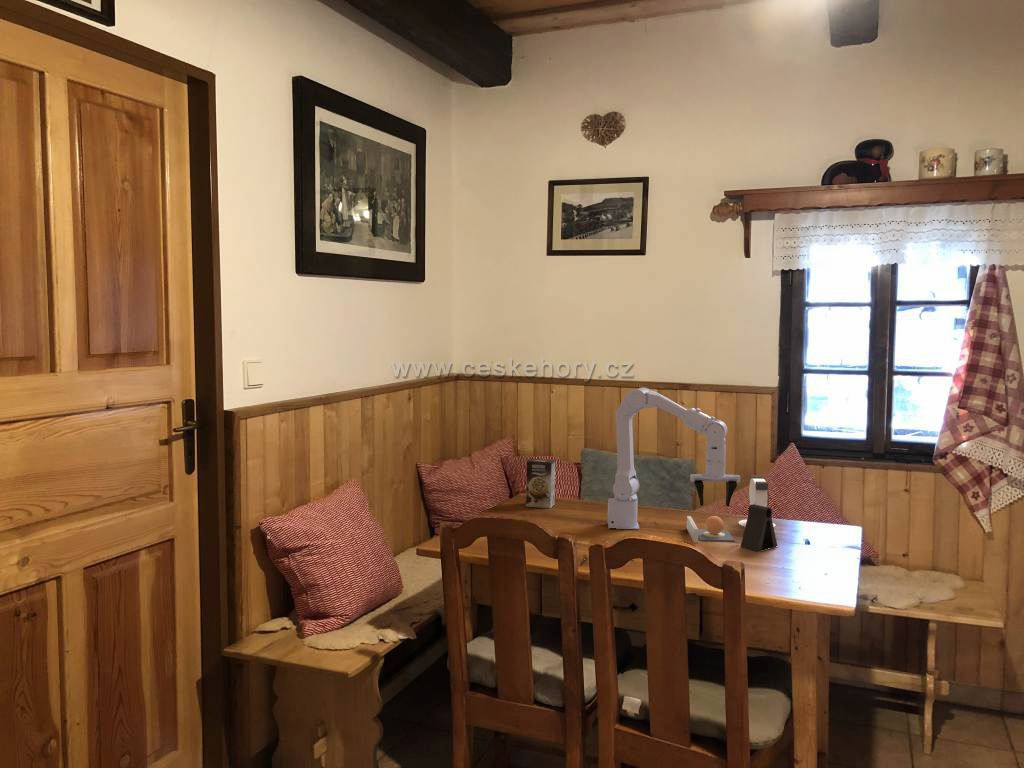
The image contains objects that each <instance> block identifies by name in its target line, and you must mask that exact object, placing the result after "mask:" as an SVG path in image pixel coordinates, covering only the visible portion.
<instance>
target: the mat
mask: <svg viewBox="0 0 1024 768" xmlns="http://www.w3.org/2000/svg"><path fill="white" fill-rule="evenodd" d="M698 541H700V542H729V543H730V542H731V543H733V542H735V539H734V538H733V536H732V534H731V533H730V531H729V530H728V529H723V530H722V531H721V532H720V533H719V534H711V533H709V532H708V531H707V530H706V528H698Z"/></svg>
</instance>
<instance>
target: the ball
mask: <svg viewBox="0 0 1024 768" xmlns="http://www.w3.org/2000/svg"><path fill="white" fill-rule="evenodd" d="M724 525H725V524H724V521H723V519H721V517H719V516H717V515H711V516H709V517H708V518H707V519H706V520H705V523H704V529H706V530H707V531H708V532H709V533H711V534H719V533H720V532H721V531H722V530H724V528H725V527H724Z"/></svg>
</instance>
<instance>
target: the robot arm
mask: <svg viewBox="0 0 1024 768" xmlns="http://www.w3.org/2000/svg"><path fill="white" fill-rule="evenodd" d="M645 408H647V409H651V408H659V409H661V410H662V411H665V412H667V413H669V414H671V415H673V416H675V417H678V418H680V419H681V420H682V422H683V425H685V426H686V427H688V428H690V429H692V430H693V431H696V432H697V433H700V434H702V435H704V436H705V438H706V446H705V450H706V451H705V473H691V474H690V475H689V476H690V477H689V479H690V480H689V481H690V482H692V483H693V484H694V486H695V488H696V489H695V490H696V492H697V495H698V500H699V505H700V507H701V506H702V507H703V506H704V489H705V488H704V487H705V485H704V482H714V483H717V482H719V483H721V482H722V483H725V492H726V493H725V506H726V507H730V503H731V499H732V497H733V495H734V492H735V490H736V489H737V486H738V484H739V483H741V475H739V474H728V473H727V474H726V459H727V458H726V457H727V456H726V455H727V453H726V452H727V451H726V450H727V446H726V443H727V442H726V435H727V434H728V426H727V424H726V423H725V422H724V421H722V419H716V417H715V416H713V415H712V416H710V415H708V414H706V413H703V412H702V411H701V408H699V407H697V408H694V407H691V408H685V407H683V405H680V404H678V403H676V402H675V401H673V400H672V399H670V398H668V397H666V396H665V395H662V394H660V393H659V392H658V391H655V390H651V389H649V388H648V387H644V386H641V387H639V388H636V389H632V390H629V391H628V392H627V393H626V394H625V395H623V398H622V400H621V402H620V404H619V405H618V407H617V409H616V412H615V432H616V434H615V435H616V456H617V458H616V459H617V460H616V461H617V462H616V463H617V470H616V473H615V478H614V480H615V481H614V483H613V486H612V493H613V495H614V497H613V498H610V497H608V500H607V515H606V522H607V528H608V529H610V528H616V529H617V530H620V529H621V530H623V529H624V530H640V525H639V522H638V502H639V501H638V496H637V492H638V491H639V490H640V485H641V484H640V482H639V481H640V480H639V479H638V477H637V471H636V468H635V466H634V465H635V461H634V459H635V457H634V434H633V417H635V416H636V415H637V414H638V413H639V412H640V411H641V410H643V409H645Z"/></svg>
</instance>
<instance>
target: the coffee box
mask: <svg viewBox="0 0 1024 768" xmlns="http://www.w3.org/2000/svg"><path fill="white" fill-rule="evenodd" d="M525 475H526V477H525V478H526V479H525V480H526V484H525V485H526V487H525V507H527V508H528V507H529V508H539V509H540V508H541V509H542V508H543V509H552V506H553V505H554V506H555V492H556V491H555V490H556V487H555V486H556V484H555V483H556V482H555V481H556V478H555V477H556V459H545V458H544V459H543V458H532V457H531V458H530V459H528V460H526V474H525Z"/></svg>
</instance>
